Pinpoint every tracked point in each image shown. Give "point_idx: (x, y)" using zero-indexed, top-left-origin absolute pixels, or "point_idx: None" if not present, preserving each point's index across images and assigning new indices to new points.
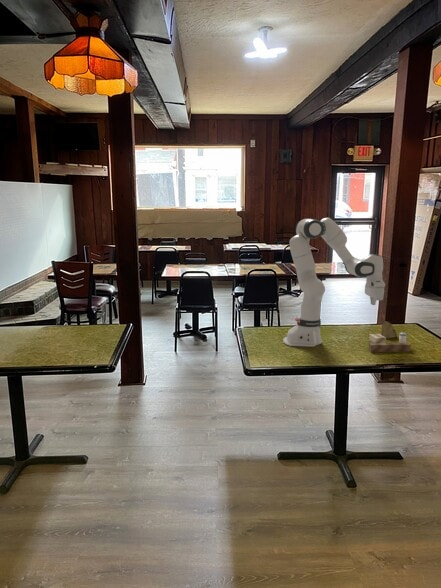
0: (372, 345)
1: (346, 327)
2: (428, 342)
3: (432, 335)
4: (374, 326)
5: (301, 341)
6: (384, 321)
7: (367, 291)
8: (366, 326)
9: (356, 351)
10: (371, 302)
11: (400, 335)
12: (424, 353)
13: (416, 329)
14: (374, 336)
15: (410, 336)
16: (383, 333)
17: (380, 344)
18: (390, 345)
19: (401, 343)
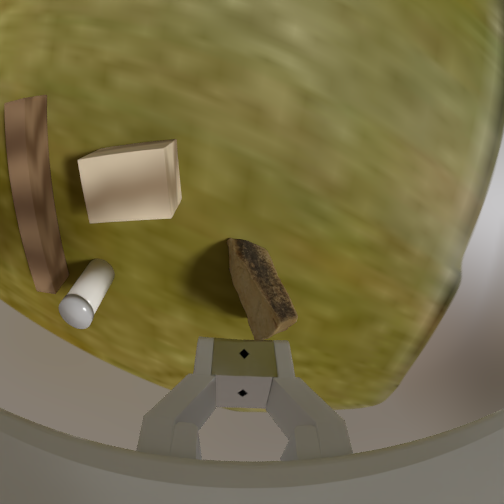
0: (5, 110)
1: (464, 152)
2: (169, 376)
3: (250, 410)
4: (427, 290)
5: None
6: (278, 323)
7: (475, 497)
8: (442, 258)
9: (42, 34)
10: (252, 363)
11: (70, 294)
12: (44, 305)
13: (328, 399)
14: (110, 163)
15: None
16: (237, 263)
17: (13, 155)
18: (15, 202)
19: (39, 261)
